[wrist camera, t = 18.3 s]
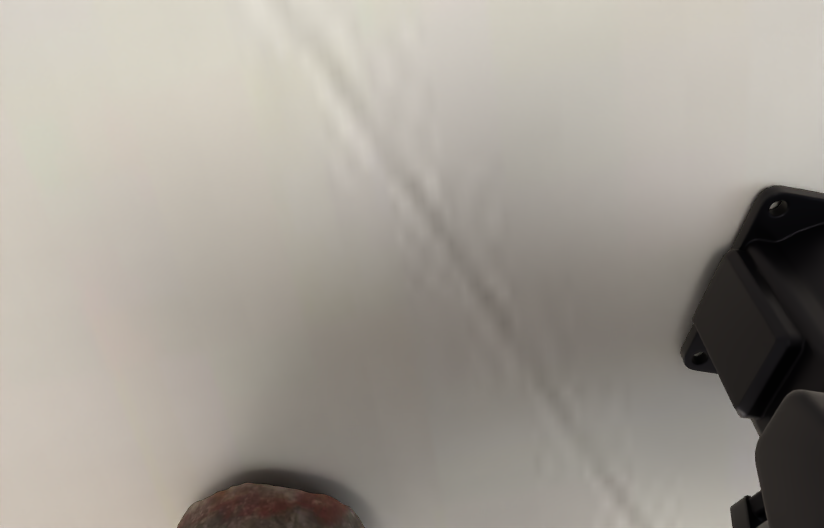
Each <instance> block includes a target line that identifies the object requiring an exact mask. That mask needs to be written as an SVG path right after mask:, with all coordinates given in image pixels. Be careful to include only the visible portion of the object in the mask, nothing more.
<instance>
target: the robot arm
mask: <svg viewBox="0 0 824 528" xmlns="http://www.w3.org/2000/svg"><path fill="white" fill-rule="evenodd" d="M776 201H782V203H781V204H780V205H779V207H777V208H775V209H769V208H770V206H771V205H772V204H773V203H774V202H776ZM692 320H693V325H692V327H691V329H690V331H689V333H688V335H687V337H686V339H685V341H684V343H683V345H682V347H681V351H680V354H681V357H682V359H683V361H684V364H685V366H687V367H688V368H689V369H692V370H696V371H703V372H709V373H716V374H718V375H719V377H720V379H721V381H722V383H723V385H724V387H725V390H726V392H727V394H728V396H729V398H730V400H731V402H732V404H733V406H734V408H735V410H736V411H737V413H738V415H739V416H740V417H741V418H748V419H751V420H752V422H753V424H754V426H755V428H756V430H757V432H758V435H759V437H760V438H759V440H758V442H757V445H756V451H755V462H756V468H757V473H758V478H759V482H760V487H761V490H760V491H759V492H757V493H756V494H755V495H753V496H752V497H751V496H748V495H747V496H745V497H744V498H742V499H741V500H739V501H738V502H737V503H735V504H734V505H733V506H731V508H730V510H731V518H732V527H733V528H824V193H819V192H813V191H807V190H802V189H796V188H791V187H785V186H772V187H769V188H766V189H765V190H764V191H762V192H761V193H760V194H759V195H758V197H757V198H756V200H755V202H754V204H753V206H752V208H751V210H750V212H749V214H748V216H747V218H746V220H745V222H744V224H743V226H742V228H741V230H740V232H739V234H738V236H737V238H736V240H735V242H734V244H733V246H732V248H731V250H729V251H728V252H727V253H726V254H725V255H724V256H723V258H722V260H721V262H720V264H719V266H718V268H717V270H716V272H715V274H714V276H713V278H712V280H711V282H710V284H709V286H708V288H707V290H706V292H705V294H704V296H703V298H702V300H701V302H700V304H699V306H698V308H697V310H696V312H695V314H694V316H693V319H692ZM699 352H703V353H702V354H701V355H698V356H694V355H695V354H697V353H699Z"/></svg>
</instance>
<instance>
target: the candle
mask: <svg viewBox="0 0 824 528" xmlns="http://www.w3.org/2000/svg"><path fill="white" fill-rule="evenodd" d="M177 528H365V527H364V526H363V524H362V522H361V521H360V519H359V517H358V516H357V515H356V514H355V512H354V511H353V510H352V509H351V508H350V507H349V506H346V505H344V504H342V503H340V502H339V501H338V500H336V499H334V498H333V497H331V496H328V495H325V494H313V493H308V492H304V491H301V490H298V489H290V488H285V487H280V486H272V485H268V484H254V483H244V484H241V485H238V486H231V487H230V488H229V489H227V490H224V491H219V492H216V493H215V494H213V495H212V496H210V497H208V498H205V499H204V500H201V501H197V502H196V503H194V504H193V505H191V506H190V507H189V508H188V510H187V511H186V513H185V514H184V516H183V517H182V519H181V521H180V523H179V524H178V527H177Z"/></svg>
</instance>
